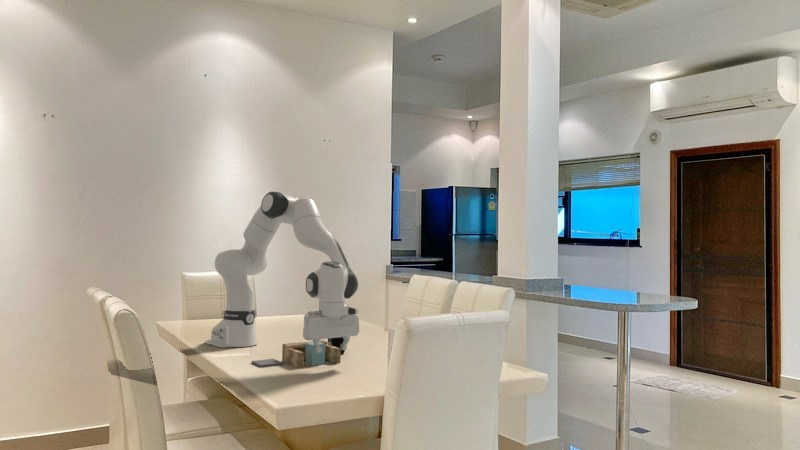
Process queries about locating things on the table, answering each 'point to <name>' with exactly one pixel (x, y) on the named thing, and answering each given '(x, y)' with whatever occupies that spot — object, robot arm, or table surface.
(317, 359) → the block
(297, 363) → the wooden u-shaped holder
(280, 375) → the table surface
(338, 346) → the beverage can
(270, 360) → the pad
